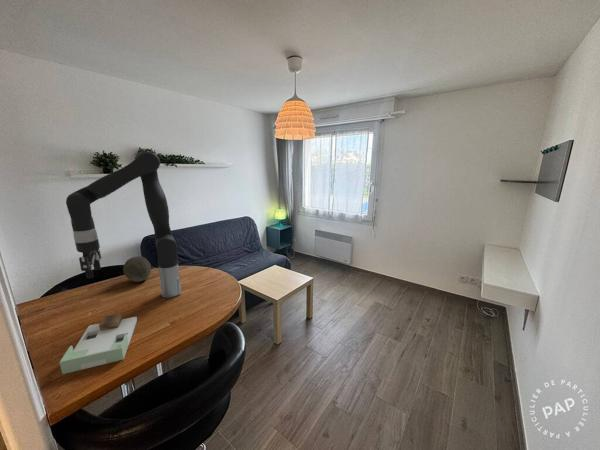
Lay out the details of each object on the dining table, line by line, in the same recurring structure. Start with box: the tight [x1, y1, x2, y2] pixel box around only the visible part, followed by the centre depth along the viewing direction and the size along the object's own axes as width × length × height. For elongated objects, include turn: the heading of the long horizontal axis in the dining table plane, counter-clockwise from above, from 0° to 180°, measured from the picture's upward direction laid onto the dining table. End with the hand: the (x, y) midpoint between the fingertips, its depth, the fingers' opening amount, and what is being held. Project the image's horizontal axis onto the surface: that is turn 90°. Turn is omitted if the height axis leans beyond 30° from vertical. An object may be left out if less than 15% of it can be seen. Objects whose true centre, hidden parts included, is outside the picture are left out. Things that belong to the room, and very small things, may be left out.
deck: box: [59, 316, 138, 375], centre depth 92 cm, size 17×24×5 cm
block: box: [98, 313, 123, 331], centre depth 100 cm, size 6×6×3 cm
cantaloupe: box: [122, 255, 152, 283], centre depth 140 cm, size 14×14×15 cm
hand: (94, 273), depth 105 cm, fingers open, 8 cm apart
